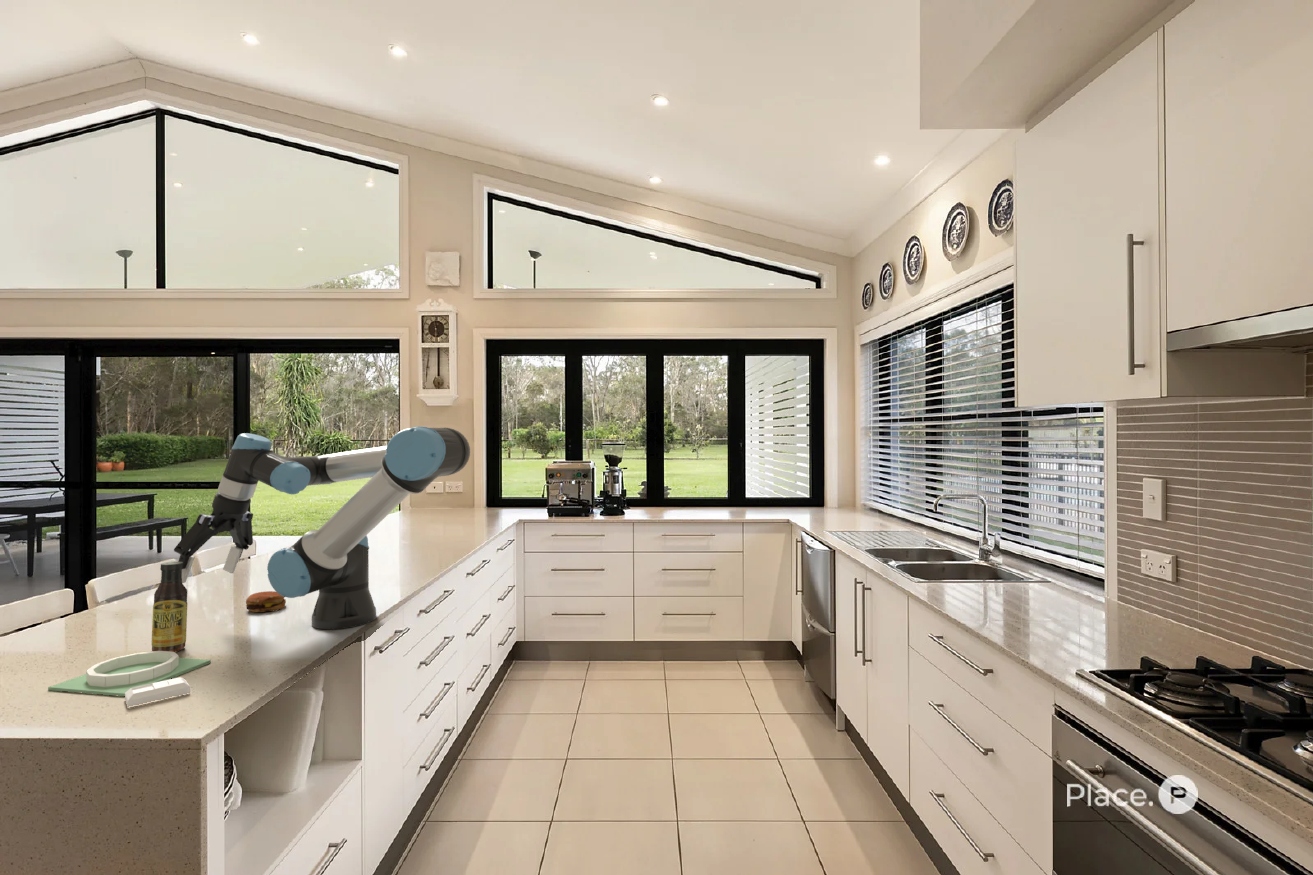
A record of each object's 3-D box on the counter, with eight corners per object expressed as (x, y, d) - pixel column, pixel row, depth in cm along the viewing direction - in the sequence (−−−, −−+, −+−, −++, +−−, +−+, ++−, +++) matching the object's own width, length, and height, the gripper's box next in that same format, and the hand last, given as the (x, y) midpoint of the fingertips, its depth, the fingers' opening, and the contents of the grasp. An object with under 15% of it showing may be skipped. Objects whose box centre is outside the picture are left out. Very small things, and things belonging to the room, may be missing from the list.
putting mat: (210, 662, 136) (210, 650, 136) (125, 697, 118) (125, 683, 118) (140, 657, 139) (140, 645, 139) (48, 690, 121) (48, 676, 121)
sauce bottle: (148, 657, 139) (147, 566, 139) (155, 648, 145) (154, 561, 145) (185, 652, 142) (184, 563, 142) (190, 644, 148) (189, 559, 148)
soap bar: (190, 696, 119) (189, 681, 119) (128, 710, 113) (127, 696, 113) (185, 688, 123) (185, 675, 123) (124, 702, 116) (124, 688, 116)
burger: (267, 603, 184) (266, 587, 184) (293, 605, 182) (293, 589, 182) (236, 613, 175) (236, 596, 175) (263, 615, 172) (263, 598, 172)
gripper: (262, 487, 169) (235, 562, 169) (175, 491, 144) (143, 578, 145) (285, 498, 167) (257, 573, 168) (201, 503, 143) (169, 591, 143)
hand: (204, 575), depth 156 cm, fingers open, 13 cm apart
